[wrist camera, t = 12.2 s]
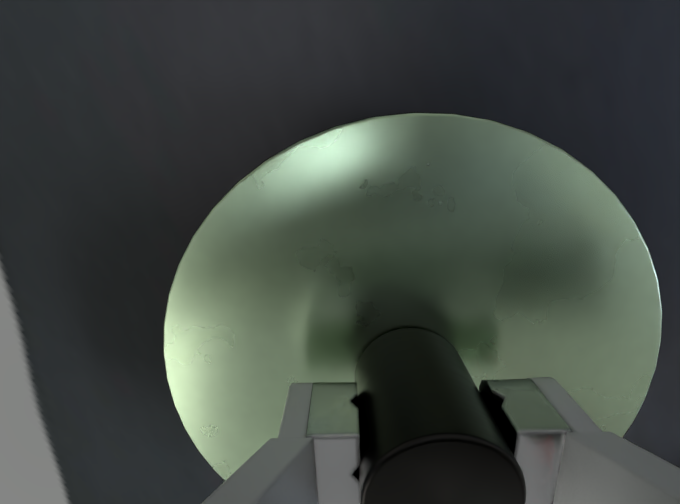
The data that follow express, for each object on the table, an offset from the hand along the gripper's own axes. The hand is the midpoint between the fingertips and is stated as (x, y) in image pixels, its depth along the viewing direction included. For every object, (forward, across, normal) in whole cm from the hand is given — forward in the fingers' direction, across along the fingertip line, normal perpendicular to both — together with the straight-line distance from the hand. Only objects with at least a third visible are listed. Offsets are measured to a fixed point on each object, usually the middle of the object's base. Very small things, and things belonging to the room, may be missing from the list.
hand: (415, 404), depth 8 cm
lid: (+2, 0, 0) cm, 2 cm away
